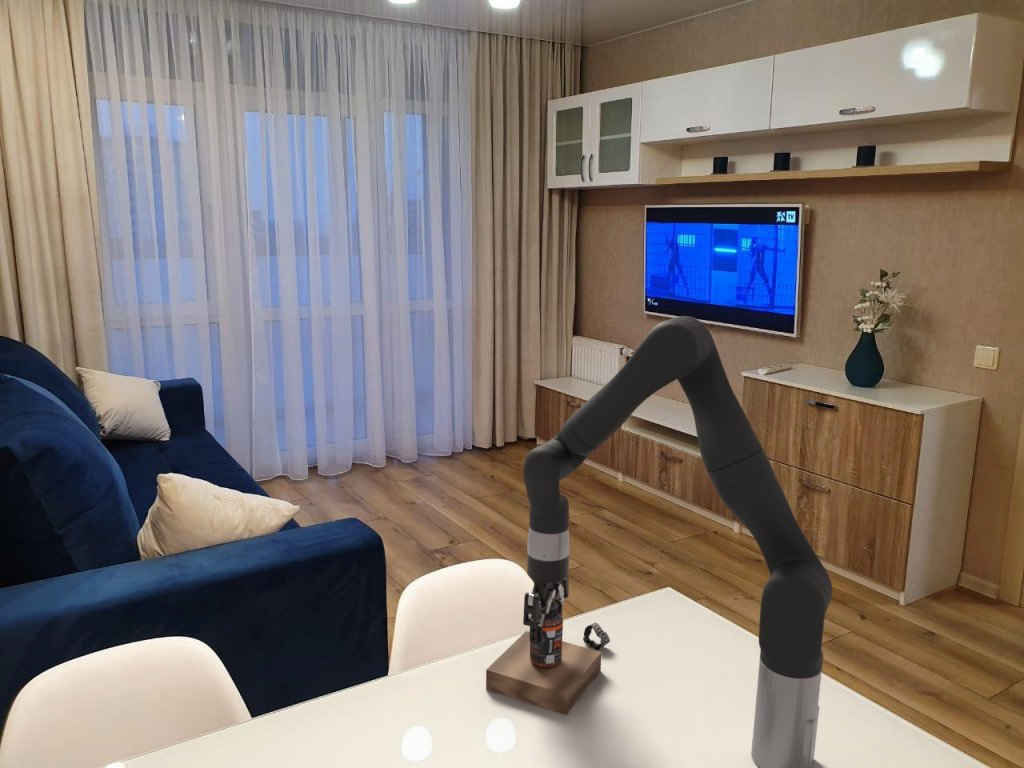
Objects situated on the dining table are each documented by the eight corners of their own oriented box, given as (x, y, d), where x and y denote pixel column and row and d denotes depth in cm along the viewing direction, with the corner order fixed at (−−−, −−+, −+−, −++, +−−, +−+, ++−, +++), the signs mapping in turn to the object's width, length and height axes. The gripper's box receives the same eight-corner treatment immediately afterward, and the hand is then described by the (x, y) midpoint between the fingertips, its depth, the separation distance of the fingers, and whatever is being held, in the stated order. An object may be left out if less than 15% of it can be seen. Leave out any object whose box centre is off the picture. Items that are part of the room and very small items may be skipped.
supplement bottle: (559, 671, 149) (561, 613, 146) (526, 667, 150) (528, 610, 147) (563, 654, 154) (565, 598, 152) (532, 650, 155) (534, 595, 153)
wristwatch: (590, 656, 164) (604, 645, 161) (577, 632, 166) (592, 621, 163) (600, 652, 166) (614, 641, 163) (588, 629, 168) (602, 618, 166)
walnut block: (600, 671, 156) (601, 651, 155) (566, 715, 142) (567, 694, 141) (525, 649, 163) (526, 630, 162) (485, 689, 149) (486, 669, 149)
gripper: (550, 569, 140) (548, 656, 143) (583, 541, 152) (580, 621, 155) (511, 560, 143) (509, 645, 146) (546, 533, 155) (544, 612, 159)
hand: (546, 633), depth 151 cm, fingers open, 8 cm apart
